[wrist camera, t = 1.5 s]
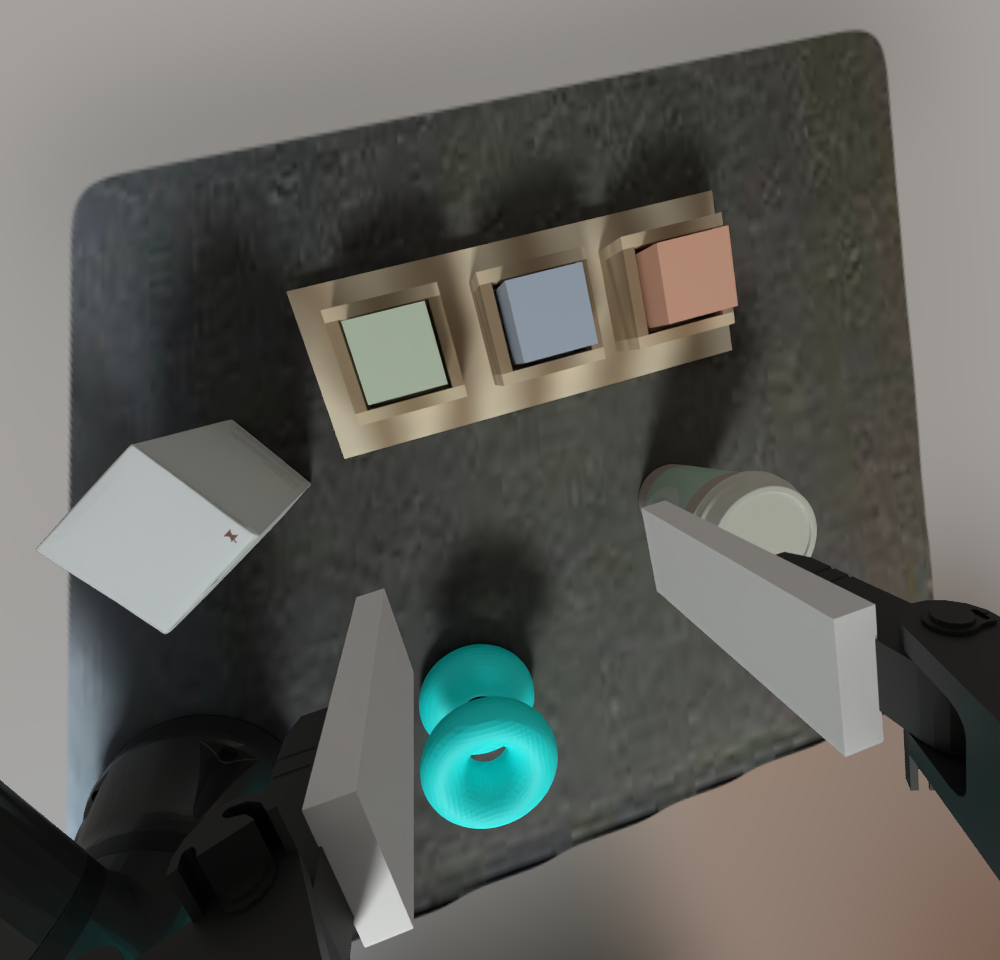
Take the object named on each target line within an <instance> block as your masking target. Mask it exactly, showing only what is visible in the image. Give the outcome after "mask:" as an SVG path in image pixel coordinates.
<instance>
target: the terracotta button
mask: <svg viewBox="0 0 1000 960" xmlns="http://www.w3.org/2000/svg"><path fill="white" fill-rule="evenodd" d="M635 256H636V262H637V268H638V274H639V280H640V286H641V292H642V298H643V304H644V310H645V315H646V321H647V327H648V328H653V327H658V326H663V325H668V324H672V323H676V322H679V321H683V320H687V319H691V318H694V317H698V316H702V315H705V314H709V313H713V312H717V311H720V310H724V309H728V308H731V307H735V306H738V302H737V294H736V285H735V277H734V269H733V260H732V252H731V244H730V236H729V227H728V226H724V227H720V228H716V229H712V230H707V231H703V232H699V233H695V234H691V235H687V236H683V237H679V238H675V239H671V240H667V241H663V242H659V243H656V244H654V245H652V246H650V247H649V248H647V249H645V250H643V251H641V252H639V253H638V254H636V255H635Z"/></svg>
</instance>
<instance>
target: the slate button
mask: <svg viewBox="0 0 1000 960" xmlns="http://www.w3.org/2000/svg"><path fill="white" fill-rule="evenodd" d="M494 294H495V298H496V302H497V306H498V310H499V314H500V318H501V322H502V327H503V331H504V335H505V339H506V343H507V347H508V351H509V355H510V359H511V364H512V365H514V364H523V363H527V362H531V361H535V360H538V359H542V358H546V357H550V356H553V355H557V354H561V353H564V352H568V351H572V350H576V349H579V348H583V347H587V346H590V345H594V344H598V340H597V335H596V330H595V325H594V320H593V315H592V310H591V304H590V299H589V294H588V289H587V284H586V279H585V274H584V269H583V264H582V262H579V263H575V264H571V265H566V266H562V267H558V268H554V269H550V270H546V271H542V272H538V273H534V274H530V275H526V276H522V277H518V278H514V279H510V280H506V281H504V282H503V283H502V284H501V285H500V286H499V287H498V288H497V289H496V291H495V292H494Z"/></svg>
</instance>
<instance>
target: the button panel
mask: <svg viewBox="0 0 1000 960" xmlns="http://www.w3.org/2000/svg"><path fill="white" fill-rule="evenodd" d="M720 227H723V222H722V214H721V213H717V214H715V211H714V203H713V195H712V190H711V191H707V192H703V193H698V194H694V195H690V196H686V197H682V198H677V199H673V200H669V201H665V202H661V203H656V204H652V205H648V206H644V207H640V208H635V209H631V210H627V211H623V212H619V213H614V214H610V215H606V216H602V217H598V218H593V219H589V220H585V221H581V222H577V223H572V224H568V225H564V226H560V227H556V228H551V229H547V230H543V231H539V232H535V233H530V234H526V235H522V236H518V237H514V238H509V239H505V240H501V241H497V242H493V243H488V244H484V245H480V246H476V247H472V248H467V249H463V250H459V251H455V252H451V253H446V254H442V255H438V256H434V257H430V258H426V259H421V260H417V261H413V262H409V263H405V264H400V265H396V266H392V267H388V268H384V269H379V270H375V271H371V272H367V273H363V274H358V275H354V276H350V277H346V278H342V279H337V280H333V281H329V282H325V283H321V284H316V285H312V286H308V287H304V288H300V289H295V290H291V291H287V295H288V298H289V301H290V304H291V306H292V309H293V312H294V315H295V318H296V321H297V324H298V327H299V329H300V332H301V335H302V338H303V341H304V344H305V347H306V350H307V352H308V355H309V358H310V361H311V364H312V367H313V370H314V373H315V375H316V378H317V381H318V384H319V387H320V390H321V393H322V395H323V398H324V401H325V404H326V407H327V410H328V413H329V416H330V418H331V421H332V424H333V427H334V430H335V433H336V436H337V439H338V441H339V444H340V447H341V450H342V453H343V456H344V459H346V458H349V457H353V456H357V455H360V454H364V453H367V452H371V451H374V450H378V449H382V448H385V447H389V446H392V445H396V444H399V443H403V442H406V441H410V440H414V439H417V438H421V437H424V436H428V435H431V434H435V433H439V432H442V431H446V430H449V429H453V428H456V427H460V426H463V425H467V424H471V423H474V422H478V421H481V420H485V419H488V418H492V417H496V416H499V415H503V414H506V413H510V412H513V411H517V410H520V409H524V408H528V407H531V406H535V405H538V404H542V403H545V402H549V401H553V400H556V399H560V398H563V397H567V396H570V395H574V394H577V393H581V392H585V391H588V390H592V389H595V388H599V387H602V386H606V385H610V384H613V383H617V382H620V381H624V380H627V379H631V378H634V377H638V376H642V375H645V374H649V373H652V372H656V371H659V370H663V369H667V368H670V367H674V366H677V365H681V364H684V363H688V362H691V361H695V360H699V359H702V358H706V357H709V356H713V355H716V354H720V353H724V352H727V351H731V350H732V346H731V338H730V330H729V325H730V324H734V323H735V319H734V311H733V307H731V308H728V309H724V310H720V311H717V312H713V313H709V314H705V315H702V316H698V317H694V318H691V319H687V320H683V321H679V322H676V323H672V324H668V325H663V326H658V327H653V328H648V327H647V321H646V315H645V310H644V304H643V298H642V292H641V286H640V280H639V274H638V268H637V262H636V256H635V255H636V254H638V253H639V252H641V251H643V250H645V249H647V248H649V247H650V246H652V245H654V244H656V243H659V242H663V241H667V240H671V239H675V238H679V237H683V236H687V235H691V234H695V233H699V232H703V231H707V230H712V229H716V228H720ZM579 262H582V264H583V269H584V274H585V279H586V284H587V289H588V294H589V299H590V304H591V310H592V315H593V320H594V325H595V330H596V335H597V340H598V344H594V345H590V346H587V347H583V348H579V349H576V350H572V351H568V352H564V353H561V354H557V355H553V356H550V357H546V358H542V359H538V360H535V361H531V362H527V363H523V364H514V365H512V364H511V359H510V355H509V351H508V347H507V343H506V339H505V335H504V331H503V327H502V322H501V318H500V314H499V310H498V306H497V302H496V298H495V294H494V292H495V291H496V289H497V288H498V287H499V286H500V285H501V284H502V283H503V282H504V281H506V280H510V279H514V278H518V277H522V276H526V275H530V274H534V273H538V272H542V271H546V270H550V269H554V268H558V267H562V266H566V265H571V264H575V263H579ZM421 301H425V304H426V308H427V311H428V315H429V318H430V322H431V326H432V329H433V333H434V336H435V340H436V344H437V347H438V351H439V354H440V358H441V361H442V365H443V369H444V372H445V376H446V379H447V383H448V384H446V385H442V386H438V387H435V388H431V389H427V390H424V391H420V392H416V393H412V394H409V395H405V396H401V397H398V398H394V399H390V400H386V401H383V402H379V403H375V404H372V405H368V403H367V400H366V397H365V394H364V391H363V387H362V384H361V381H360V378H359V375H358V372H357V369H356V366H355V363H354V360H353V357H352V354H351V351H350V348H349V344H348V341H347V338H346V335H345V332H344V329H343V326H342V323H341V321H345V320H349V319H353V318H357V317H361V316H365V315H369V314H373V313H377V312H381V311H385V310H389V309H393V308H397V307H401V306H405V305H409V304H413V303H417V302H421Z"/></svg>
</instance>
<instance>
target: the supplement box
mask: <svg viewBox="0 0 1000 960" xmlns="http://www.w3.org/2000/svg"><path fill="white" fill-rule="evenodd" d="M310 485H311V484H310V482H309V481H307V480H306V479H305V478H304V477H302V476H301V475H300V474H299V473H298V472H296V471H295V470H294V469H293V468H291V467H290V466H289V465H288V464H286V463H285V462H284V461H283V460H282V459H281V458H279V457H278V456H277V455H275V454H274V453H273V452H272V451H271V450H269V449H268V448H267V447H266V446H264V445H263V444H262V443H261V442H259V441H258V440H257V439H256V438H255V437H253V436H252V435H251V434H250V433H248V432H247V431H246V430H245V429H244V428H242V427H241V426H240V425H238V424H237V423H236V422H235V421H233V420H227V421H223V422H219V423H215V424H211V425H207V426H203V427H199V428H195V429H191V430H187V431H184V432H180V433H176V434H172V435H168V436H164V437H160V438H156V439H152V440H148V441H144V442H140V443H136V444H131V445H130V446H129V447H128V448H127V449H126V450H125V451H124V452H123V453H122V454H121V455H120V456H119V457H118V459H117V460H116V461H115V462H114V463H113V464H112V465H111V466H110V467H109V468H108V469H107V471H106V472H105V473H104V474H103V475H102V476H101V477H100V478H99V479H98V481H97V482H96V483H95V484H94V485H93V486H92V487H91V488H90V489H89V490H88V491H87V493H86V494H85V495H84V496H83V497H82V498H81V499H80V500H79V501H78V502H77V504H76V505H75V506H74V507H73V508H72V509H71V510H70V511H69V512H68V514H67V515H66V516H65V517H64V518H63V519H62V520H61V522H59V524H58V525H57V526H56V527H55V528H54V529H53V530H52V532H51V533H50V534H49V535H48V536H47V537H46V538H45V539H44V541H43V542H42V543H41V544H40V545H39V546H38V547H37V548H36V551H37V552H39V553H40V554H42V555H43V556H45V557H47V558H48V559H50V560H51V561H53V562H54V563H56V564H57V565H59V566H61V567H62V568H64V569H65V570H67V571H68V572H70V573H71V574H73V575H75V576H76V577H78V578H79V579H81V580H82V581H84V582H86V583H87V584H89V585H90V586H92V587H93V588H95V589H97V590H98V591H100V592H101V593H103V594H104V595H106V596H108V597H109V598H111V599H113V600H114V601H116V602H117V603H119V604H120V605H122V606H123V607H125V608H126V609H128V610H129V611H130V612H132V613H133V614H135V615H136V616H138V617H139V618H141V619H142V620H144V621H145V622H147V623H148V624H150V625H151V626H153V627H155V628H156V629H157V630H159V631H160V632H162V633H164V634H167V633H169V632H170V631H172V630H173V629H174V628H175V627H176V626H177V625H178V624H179V623H180V622H181V621H182V620H183V619H184V618H185V617H186V616H187V615H188V614H189V613H190V612H191V611H192V610H193V609H194V608H195V607H196V606H197V605H198V604H199V603H200V602H201V601H202V600H203V599H204V598H205V597H206V596H207V595H208V594H209V593H210V592H211V591H212V590H213V589H214V588H215V587H216V586H217V585H218V584H219V583H220V582H221V581H222V580H223V579H224V577H225V576H226V575H227V574H228V573H229V572H230V571H231V570H232V569H233V568H234V567H235V566H236V565H237V564H238V563H239V562H240V561H241V560H242V559H243V558H244V557H245V556H246V555H247V554H248V553H249V552H250V551H251V549H252V548H253V547H254V546H255V545H256V544H257V543H258V542H259V541H260V540H261V539H262V538H263V537H264V536H265V535H266V534H267V533H268V532H269V531H270V530H271V529H272V527H273V526H274V525H275V524H276V523H277V522H278V521H279V520H280V519H281V518H282V517H283V516H284V514H285V513H286V512H287V511H288V510H289V509H290V508H291V507H292V505H293V504H294V503H295V502H296V501H297V500H298V499H299V497H300V496H301V495H302V494H303V493H304V492H305V490H306V489H307V488H308V487H309V486H310Z"/></svg>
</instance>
